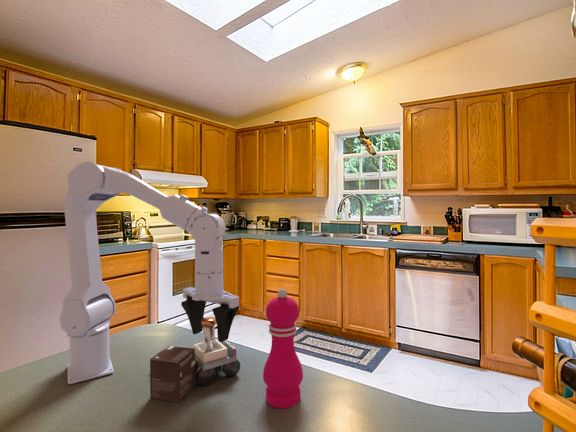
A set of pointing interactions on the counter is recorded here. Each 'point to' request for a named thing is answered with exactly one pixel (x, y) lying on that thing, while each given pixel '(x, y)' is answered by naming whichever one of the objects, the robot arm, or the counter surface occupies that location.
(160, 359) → the box
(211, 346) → the pin
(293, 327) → the pepper mill
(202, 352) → the tray
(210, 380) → the trolley
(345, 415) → the counter surface
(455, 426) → the counter surface
